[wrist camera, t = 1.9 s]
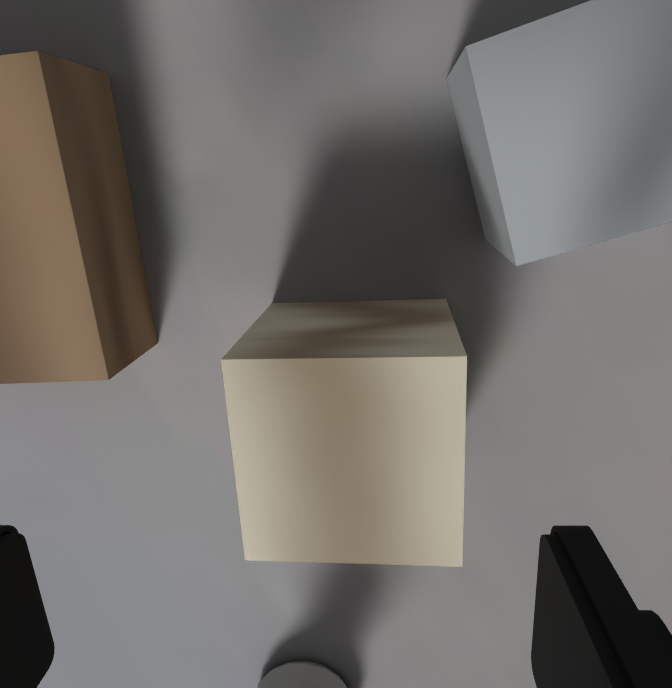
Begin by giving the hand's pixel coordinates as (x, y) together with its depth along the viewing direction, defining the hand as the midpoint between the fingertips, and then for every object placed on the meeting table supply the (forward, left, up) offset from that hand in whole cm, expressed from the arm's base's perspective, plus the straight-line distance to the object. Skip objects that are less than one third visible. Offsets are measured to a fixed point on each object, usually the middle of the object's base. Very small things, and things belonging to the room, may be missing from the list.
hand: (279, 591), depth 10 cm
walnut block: (+11, -6, -11) cm, 17 cm away
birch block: (-1, 0, -11) cm, 11 cm away
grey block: (-7, -8, -11) cm, 15 cm away
